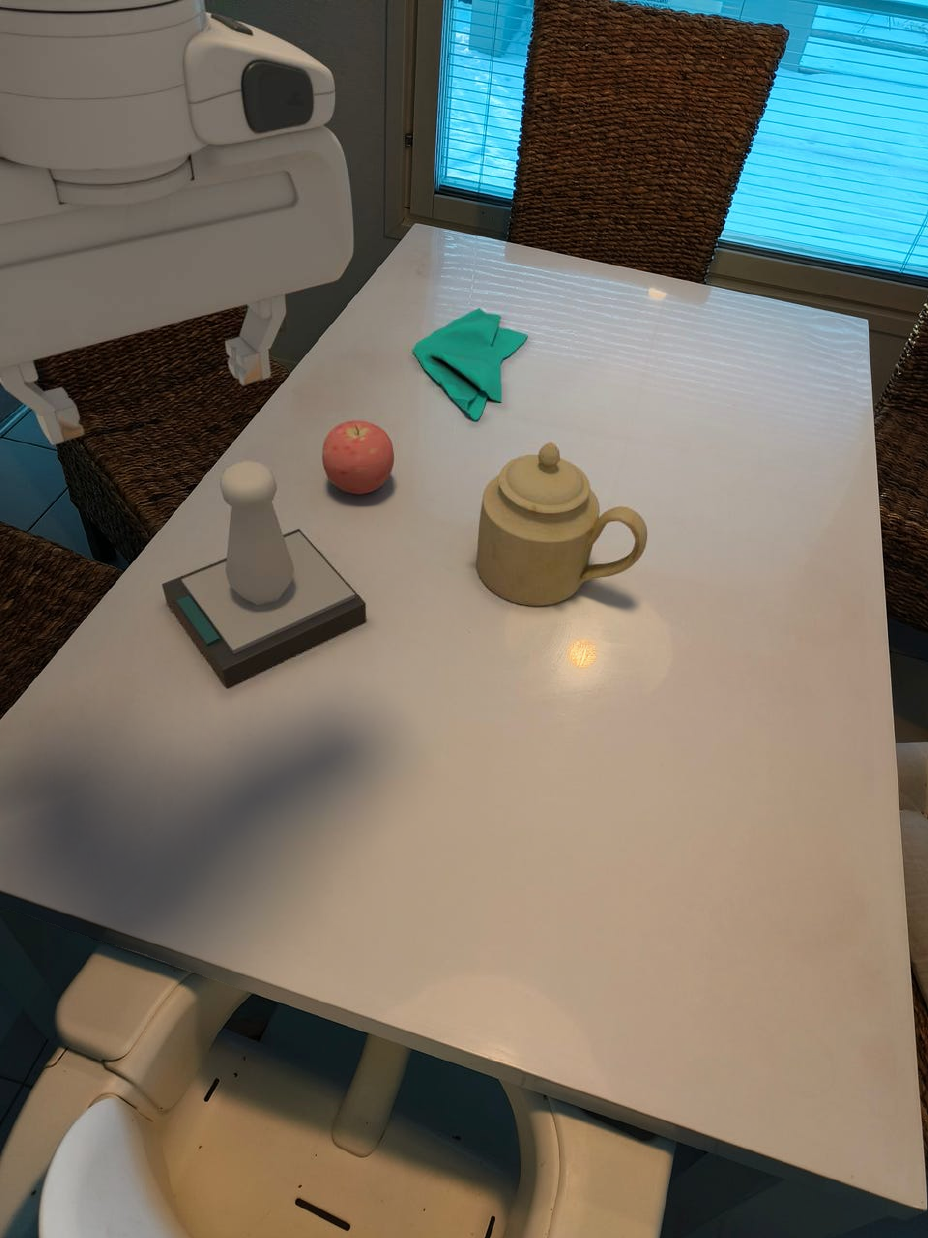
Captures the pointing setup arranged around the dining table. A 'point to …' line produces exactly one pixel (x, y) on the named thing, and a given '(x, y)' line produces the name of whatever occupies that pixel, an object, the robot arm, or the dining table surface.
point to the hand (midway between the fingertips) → (161, 404)
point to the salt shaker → (255, 535)
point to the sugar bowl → (545, 530)
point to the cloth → (469, 358)
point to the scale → (264, 613)
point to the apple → (357, 456)
